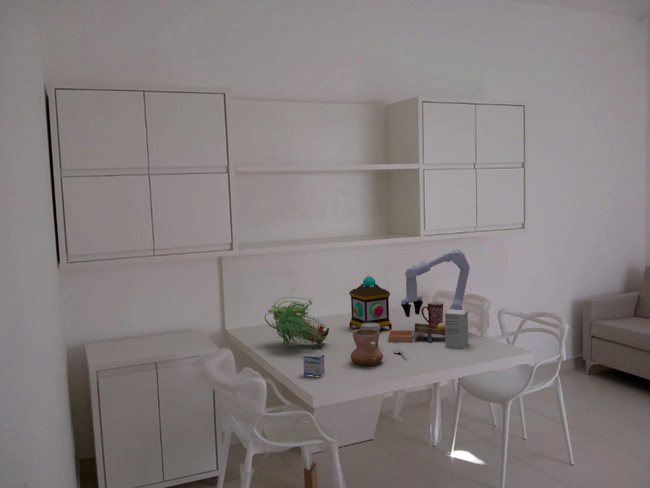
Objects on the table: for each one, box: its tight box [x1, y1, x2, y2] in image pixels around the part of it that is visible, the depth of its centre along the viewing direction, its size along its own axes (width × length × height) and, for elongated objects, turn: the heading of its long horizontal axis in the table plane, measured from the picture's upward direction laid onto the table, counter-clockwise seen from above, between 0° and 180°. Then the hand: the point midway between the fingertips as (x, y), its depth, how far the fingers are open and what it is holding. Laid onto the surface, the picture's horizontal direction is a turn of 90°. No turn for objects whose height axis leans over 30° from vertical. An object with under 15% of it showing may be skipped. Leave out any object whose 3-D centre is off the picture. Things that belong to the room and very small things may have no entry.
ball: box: [437, 323, 445, 330], centre depth 284 cm, size 4×4×4 cm
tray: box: [387, 329, 414, 343], centre depth 288 cm, size 12×12×3 cm
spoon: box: [393, 348, 411, 361], centre depth 257 cm, size 4×21×2 cm, turn 13°
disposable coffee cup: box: [360, 323, 381, 350], centre depth 271 cm, size 10×10×12 cm
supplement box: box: [444, 308, 469, 350], centre depth 272 cm, size 10×9×17 cm
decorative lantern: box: [348, 275, 393, 331], centre depth 310 cm, size 20×20×30 cm
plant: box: [264, 296, 330, 352], centre depth 281 cm, size 30×30×35 cm
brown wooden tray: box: [413, 322, 445, 337], centre depth 288 cm, size 16×16×3 cm
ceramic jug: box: [350, 328, 384, 366], centre depth 250 cm, size 18×14×14 cm
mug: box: [420, 300, 445, 325], centre depth 311 cm, size 13×9×14 cm
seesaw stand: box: [426, 333, 433, 344], centre depth 285 cm, size 2×13×5 cm, turn 170°
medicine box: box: [302, 353, 326, 377], centre depth 235 cm, size 8×4×9 cm, turn 69°
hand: (412, 315), depth 298 cm, fingers open, 7 cm apart
